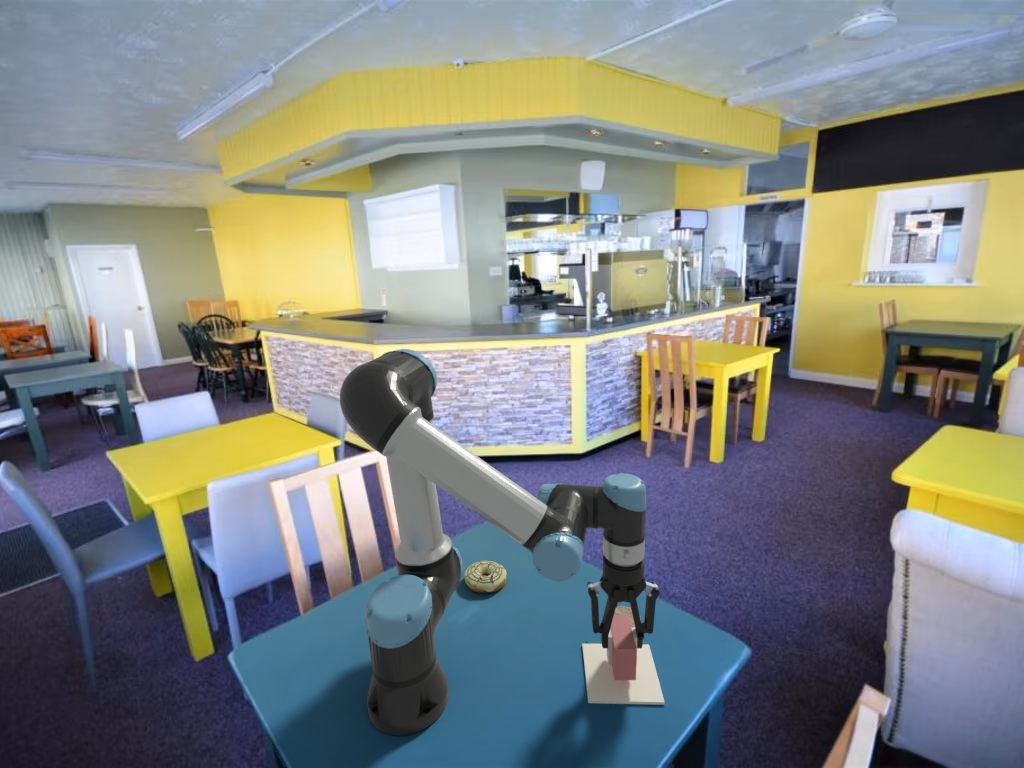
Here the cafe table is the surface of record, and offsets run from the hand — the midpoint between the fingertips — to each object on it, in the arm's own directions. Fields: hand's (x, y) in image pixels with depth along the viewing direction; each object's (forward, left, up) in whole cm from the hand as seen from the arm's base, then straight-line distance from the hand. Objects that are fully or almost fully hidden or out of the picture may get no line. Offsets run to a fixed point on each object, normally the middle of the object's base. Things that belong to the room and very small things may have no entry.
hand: (621, 659), depth 99 cm
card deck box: (0, 0, 0) cm, 0 cm away
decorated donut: (-30, +28, -4) cm, 41 cm away
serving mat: (0, 0, -3) cm, 3 cm away
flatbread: (+3, +15, -4) cm, 16 cm away
